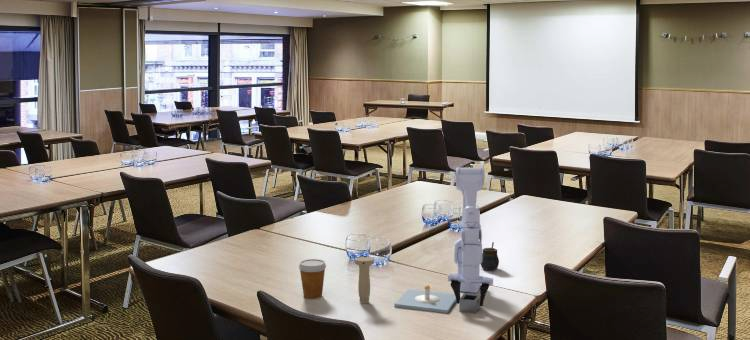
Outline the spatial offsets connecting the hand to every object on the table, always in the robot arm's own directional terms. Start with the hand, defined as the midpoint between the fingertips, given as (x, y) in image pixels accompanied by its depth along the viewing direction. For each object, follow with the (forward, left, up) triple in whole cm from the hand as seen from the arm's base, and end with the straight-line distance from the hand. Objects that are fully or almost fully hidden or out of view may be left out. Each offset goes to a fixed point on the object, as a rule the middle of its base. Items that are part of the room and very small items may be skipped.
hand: (469, 304), depth 229 cm
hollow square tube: (0, 0, -2) cm, 2 cm away
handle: (+5, -35, -2) cm, 35 cm away
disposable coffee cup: (+5, -54, -2) cm, 54 cm away
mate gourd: (-47, -2, -2) cm, 47 cm away
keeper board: (-2, -15, -2) cm, 15 cm away
